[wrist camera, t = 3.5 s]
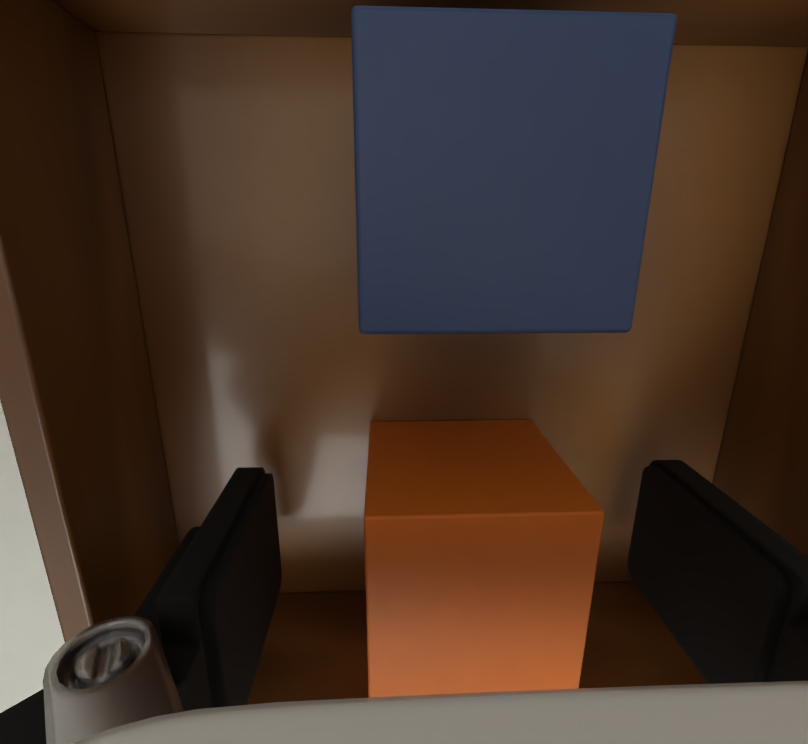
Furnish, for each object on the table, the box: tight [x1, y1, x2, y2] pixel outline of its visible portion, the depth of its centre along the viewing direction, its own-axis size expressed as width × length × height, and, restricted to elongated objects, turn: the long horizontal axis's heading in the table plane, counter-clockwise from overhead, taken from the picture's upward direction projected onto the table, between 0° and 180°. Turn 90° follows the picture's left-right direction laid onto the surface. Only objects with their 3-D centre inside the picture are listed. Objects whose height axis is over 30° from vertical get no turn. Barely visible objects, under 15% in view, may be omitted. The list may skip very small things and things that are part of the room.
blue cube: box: [351, 5, 677, 334], centre depth 8 cm, size 4×4×4 cm
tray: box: [0, 0, 808, 705], centre depth 10 cm, size 15×14×4 cm
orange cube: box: [364, 420, 604, 698], centre depth 10 cm, size 4×4×4 cm
